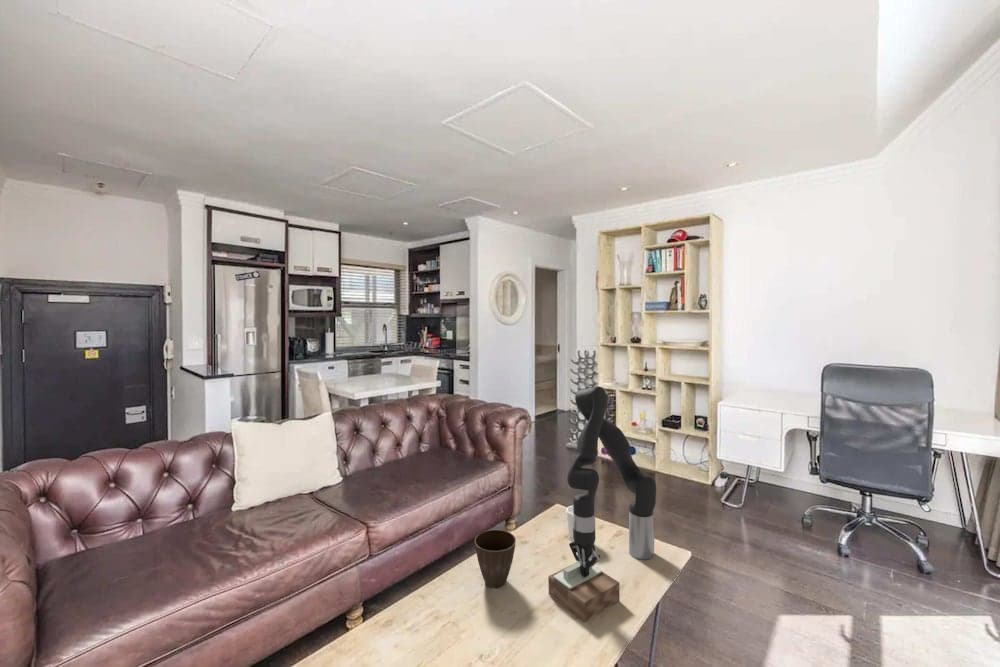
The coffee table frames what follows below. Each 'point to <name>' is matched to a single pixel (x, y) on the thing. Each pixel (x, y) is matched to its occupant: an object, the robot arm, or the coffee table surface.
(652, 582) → the coffee table surface
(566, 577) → the slide cover
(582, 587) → the brown square open box
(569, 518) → the foam cup
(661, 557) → the coffee table surface
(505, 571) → the plant pot
